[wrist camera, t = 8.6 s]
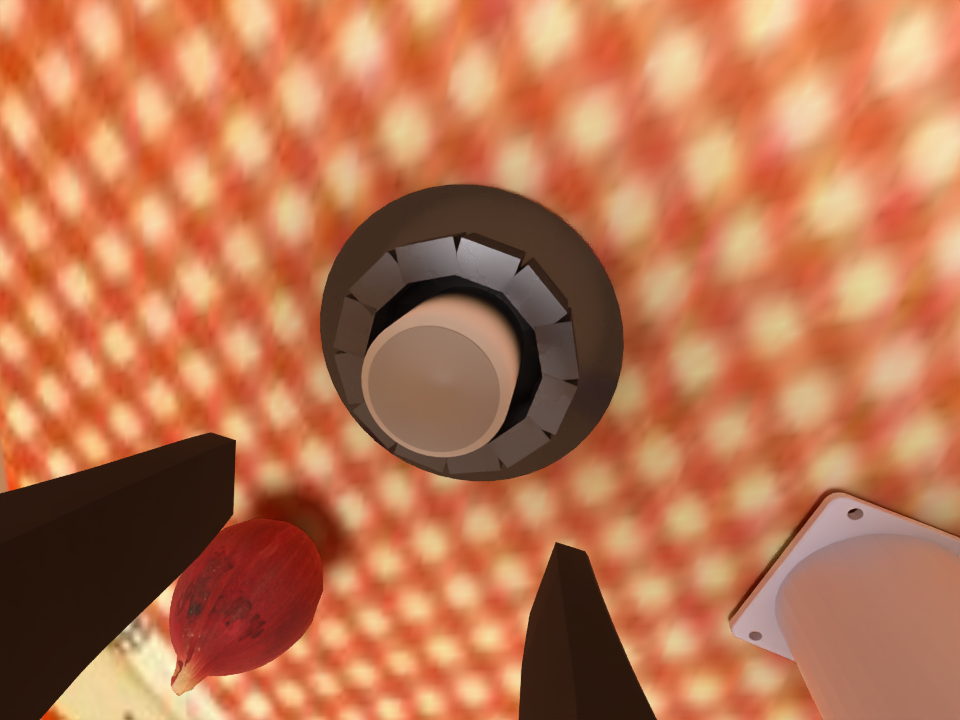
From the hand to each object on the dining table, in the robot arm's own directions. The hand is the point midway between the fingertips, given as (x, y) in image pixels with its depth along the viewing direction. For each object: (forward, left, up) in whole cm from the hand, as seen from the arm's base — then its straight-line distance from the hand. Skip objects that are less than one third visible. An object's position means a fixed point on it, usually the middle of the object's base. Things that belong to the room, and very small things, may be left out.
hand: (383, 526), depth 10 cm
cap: (+1, -1, -9) cm, 9 cm away
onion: (+6, +12, -10) cm, 17 cm away
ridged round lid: (+1, -1, -10) cm, 10 cm away
